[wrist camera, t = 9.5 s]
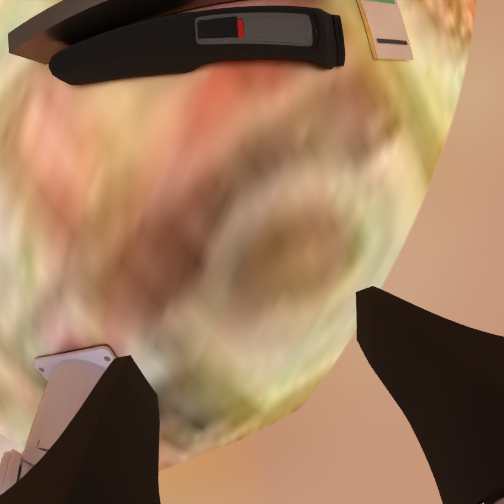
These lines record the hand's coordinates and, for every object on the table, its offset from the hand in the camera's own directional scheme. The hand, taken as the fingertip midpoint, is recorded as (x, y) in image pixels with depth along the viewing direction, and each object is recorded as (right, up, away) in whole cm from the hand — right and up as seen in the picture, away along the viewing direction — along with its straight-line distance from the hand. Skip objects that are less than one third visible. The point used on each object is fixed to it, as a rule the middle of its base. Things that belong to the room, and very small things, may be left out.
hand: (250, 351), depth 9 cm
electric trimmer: (-2, +14, +4) cm, 15 cm away
